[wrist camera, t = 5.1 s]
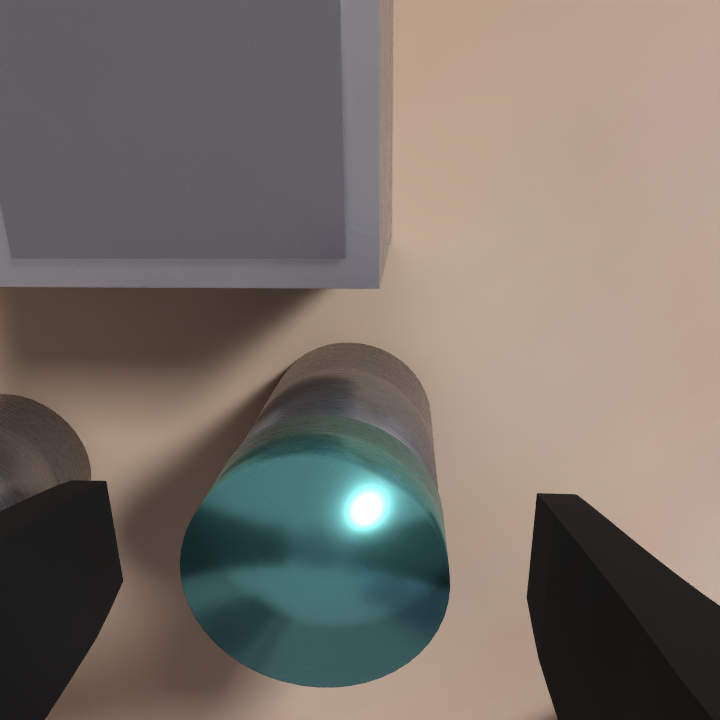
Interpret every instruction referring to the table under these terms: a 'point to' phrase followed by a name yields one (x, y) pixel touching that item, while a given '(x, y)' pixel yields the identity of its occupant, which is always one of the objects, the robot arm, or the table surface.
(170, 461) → the table surface
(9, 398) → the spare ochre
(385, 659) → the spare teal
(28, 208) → the control box
